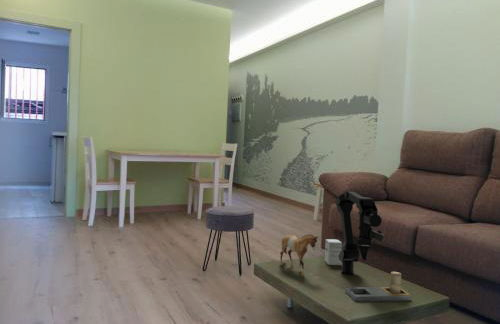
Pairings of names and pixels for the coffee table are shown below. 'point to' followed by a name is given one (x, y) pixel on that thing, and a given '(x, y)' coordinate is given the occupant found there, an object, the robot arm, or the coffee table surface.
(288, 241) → the horse figurine
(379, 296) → the board with square holes
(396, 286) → the peg
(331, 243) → the supplement box
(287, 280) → the coffee table surface
